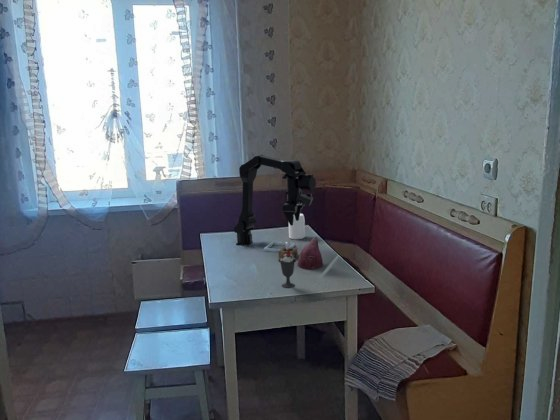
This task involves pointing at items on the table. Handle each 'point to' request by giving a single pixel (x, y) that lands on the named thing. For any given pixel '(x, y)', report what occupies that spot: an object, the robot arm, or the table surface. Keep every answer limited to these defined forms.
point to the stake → (288, 246)
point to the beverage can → (297, 228)
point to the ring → (283, 250)
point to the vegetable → (310, 256)
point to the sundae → (287, 268)
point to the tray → (277, 244)
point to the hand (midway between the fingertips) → (294, 222)
